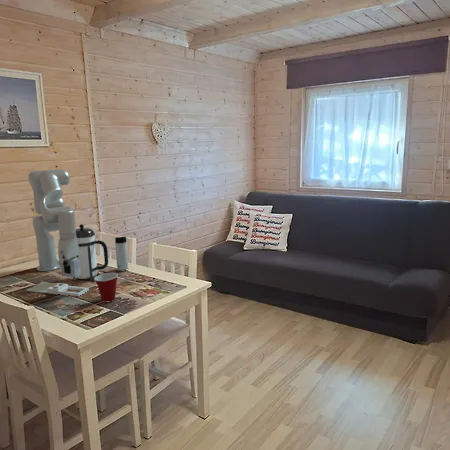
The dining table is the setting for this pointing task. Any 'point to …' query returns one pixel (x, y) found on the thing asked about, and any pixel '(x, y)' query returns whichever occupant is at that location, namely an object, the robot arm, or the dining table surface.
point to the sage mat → (41, 287)
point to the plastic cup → (107, 285)
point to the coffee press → (89, 253)
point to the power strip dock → (65, 289)
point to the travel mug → (121, 253)
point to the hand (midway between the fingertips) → (71, 271)
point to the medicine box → (72, 268)
